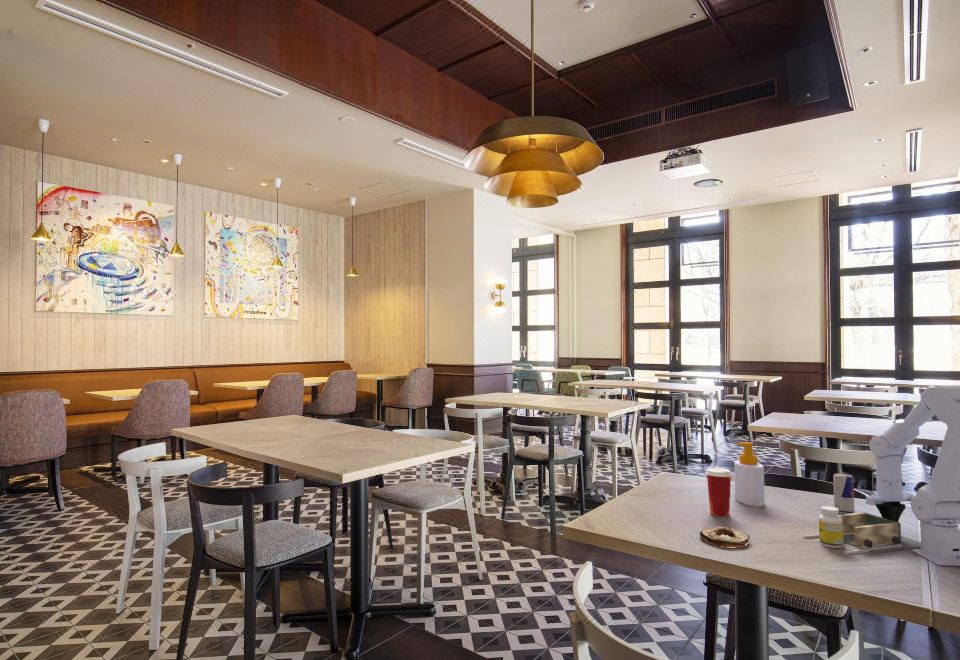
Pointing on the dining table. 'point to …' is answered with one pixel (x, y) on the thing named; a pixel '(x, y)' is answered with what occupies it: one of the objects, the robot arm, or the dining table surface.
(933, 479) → the robot arm
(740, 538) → the ring pastry
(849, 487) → the energy drink
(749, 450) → the soap bottle
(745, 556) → the dining table surface
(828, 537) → the supplement bottle
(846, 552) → the track
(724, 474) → the paper cup
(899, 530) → the cart
